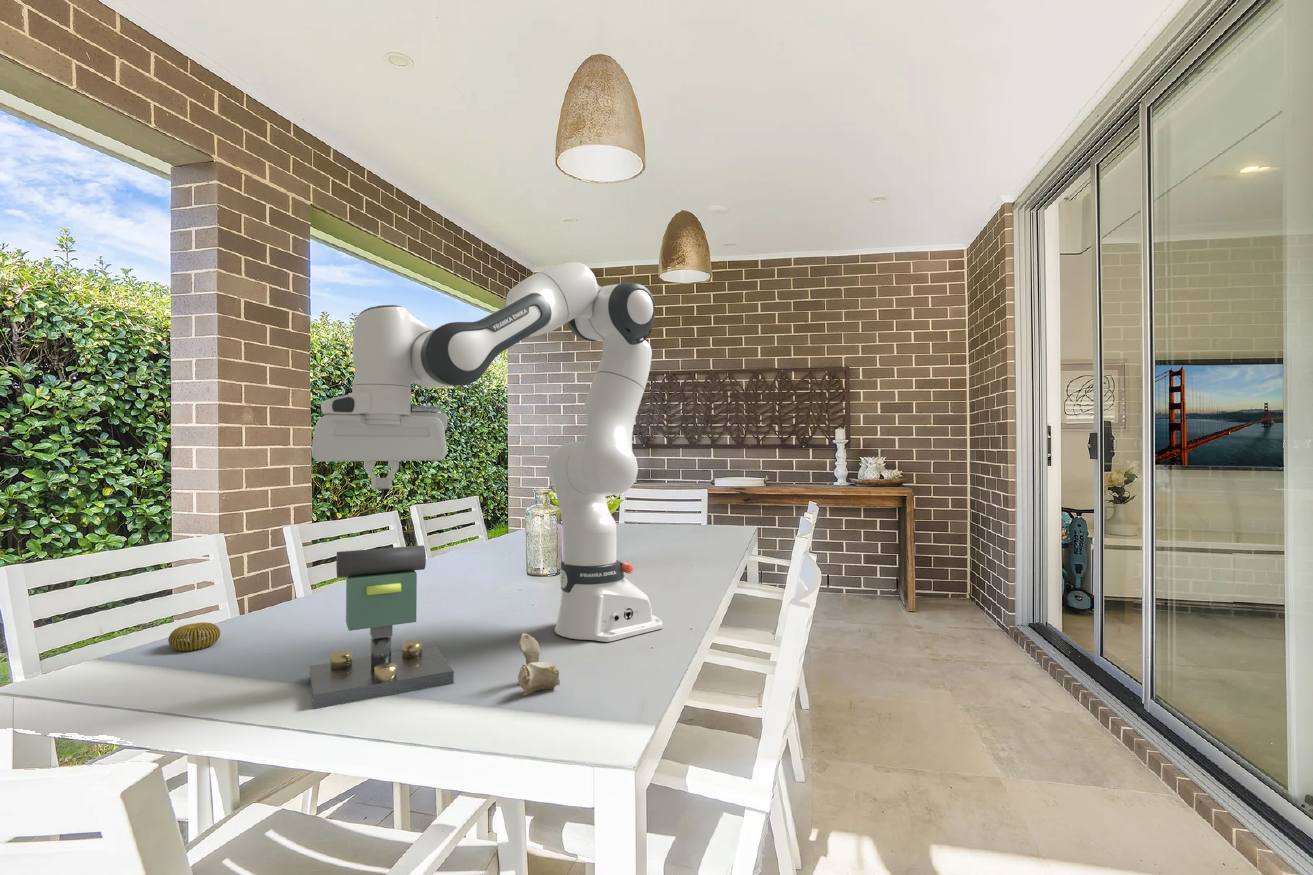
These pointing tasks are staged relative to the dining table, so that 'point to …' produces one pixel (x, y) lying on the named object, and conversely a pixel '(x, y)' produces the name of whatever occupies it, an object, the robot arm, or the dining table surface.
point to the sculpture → (194, 636)
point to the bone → (535, 668)
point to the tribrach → (378, 673)
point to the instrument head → (380, 587)
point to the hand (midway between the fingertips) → (381, 489)
